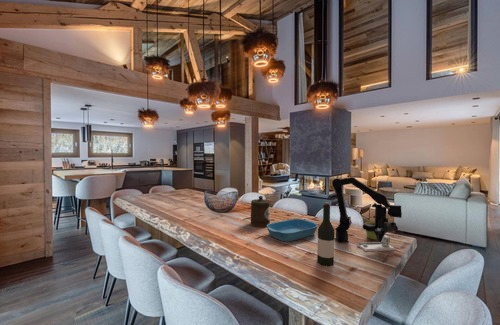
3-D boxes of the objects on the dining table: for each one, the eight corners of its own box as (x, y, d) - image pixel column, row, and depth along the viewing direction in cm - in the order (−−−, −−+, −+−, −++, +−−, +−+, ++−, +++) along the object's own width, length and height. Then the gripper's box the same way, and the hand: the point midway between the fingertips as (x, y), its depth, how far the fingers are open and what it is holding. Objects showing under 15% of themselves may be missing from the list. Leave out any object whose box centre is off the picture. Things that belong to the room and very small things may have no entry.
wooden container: (270, 227, 173) (271, 197, 172) (250, 227, 173) (250, 197, 172) (269, 221, 188) (269, 194, 187) (250, 221, 188) (251, 194, 187)
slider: (385, 246, 135) (386, 237, 135) (381, 244, 139) (381, 235, 139) (390, 246, 135) (390, 237, 135) (386, 243, 139) (386, 235, 139)
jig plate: (365, 251, 132) (365, 247, 131) (357, 245, 139) (357, 242, 139) (394, 250, 134) (394, 246, 134) (384, 244, 142) (385, 241, 142)
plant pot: (371, 240, 148) (372, 227, 148) (360, 235, 157) (361, 223, 157) (383, 239, 150) (384, 226, 150) (372, 234, 160) (372, 222, 159)
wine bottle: (330, 259, 121) (331, 201, 120) (337, 266, 113) (338, 204, 112) (314, 259, 121) (315, 201, 120) (319, 266, 112) (321, 204, 112)
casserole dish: (282, 246, 138) (282, 234, 138) (260, 235, 157) (260, 224, 157) (323, 235, 158) (324, 224, 158) (299, 226, 177) (300, 217, 177)
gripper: (374, 219, 127) (374, 247, 128) (405, 218, 130) (404, 246, 130) (362, 214, 138) (361, 240, 139) (391, 213, 141) (390, 239, 141)
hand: (379, 241), depth 137 cm, fingers closed
